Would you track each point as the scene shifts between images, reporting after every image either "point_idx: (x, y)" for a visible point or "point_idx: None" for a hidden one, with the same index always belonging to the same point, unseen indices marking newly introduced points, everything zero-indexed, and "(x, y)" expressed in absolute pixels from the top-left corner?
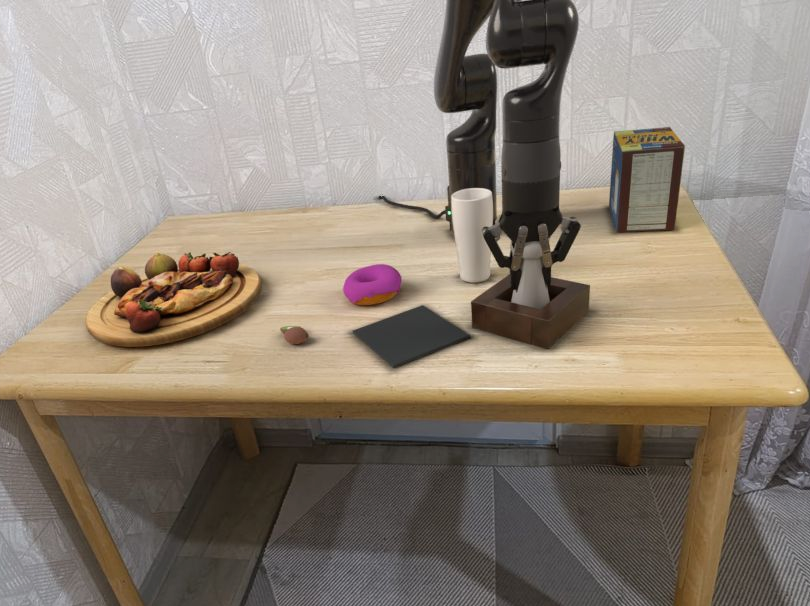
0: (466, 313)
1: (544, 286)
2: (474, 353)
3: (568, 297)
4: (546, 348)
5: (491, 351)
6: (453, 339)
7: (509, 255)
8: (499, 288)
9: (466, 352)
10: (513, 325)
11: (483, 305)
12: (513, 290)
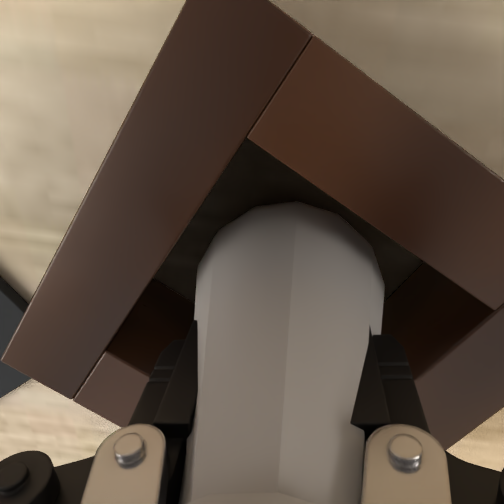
0: (19, 165)
1: None
2: (103, 424)
3: (466, 404)
4: None
5: None
6: (20, 372)
7: (83, 498)
8: (118, 255)
9: (79, 416)
10: None
11: (65, 393)
12: (194, 315)
